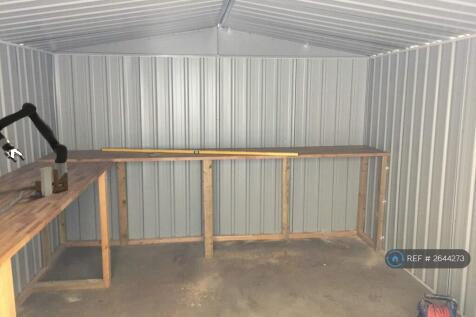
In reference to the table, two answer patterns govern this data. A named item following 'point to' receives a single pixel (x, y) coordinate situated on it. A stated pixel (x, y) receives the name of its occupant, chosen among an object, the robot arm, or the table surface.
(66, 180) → the wooden rod assembly
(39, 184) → the brown rectangular block
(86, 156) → the table surface
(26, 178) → the table surface
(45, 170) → the grey stand
